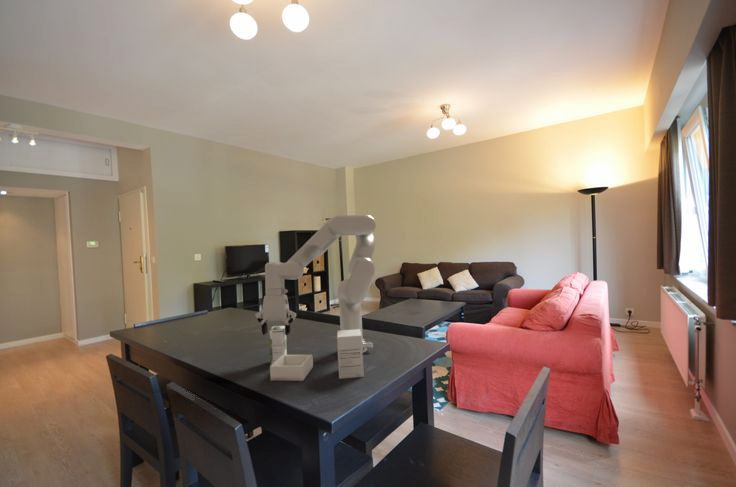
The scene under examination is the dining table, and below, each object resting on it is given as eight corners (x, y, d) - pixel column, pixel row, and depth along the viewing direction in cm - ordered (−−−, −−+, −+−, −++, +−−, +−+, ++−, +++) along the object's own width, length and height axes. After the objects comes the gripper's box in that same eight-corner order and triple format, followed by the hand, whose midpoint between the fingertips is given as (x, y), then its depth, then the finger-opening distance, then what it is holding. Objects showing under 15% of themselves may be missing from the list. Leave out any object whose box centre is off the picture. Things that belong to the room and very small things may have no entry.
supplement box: (338, 369, 126) (336, 330, 125) (362, 367, 126) (360, 328, 126) (338, 379, 117) (336, 337, 116) (363, 377, 117) (361, 335, 117)
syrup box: (273, 360, 138) (271, 326, 138) (287, 359, 139) (285, 325, 139) (270, 365, 133) (268, 329, 133) (285, 364, 133) (283, 328, 133)
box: (313, 367, 129) (312, 354, 129) (302, 380, 117) (302, 366, 117) (283, 367, 130) (283, 354, 130) (270, 380, 118) (269, 366, 118)
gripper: (298, 290, 138) (299, 331, 138) (259, 291, 140) (260, 331, 140) (291, 293, 131) (293, 337, 131) (250, 293, 133) (251, 336, 133)
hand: (276, 334), depth 135 cm, fingers open, 9 cm apart
